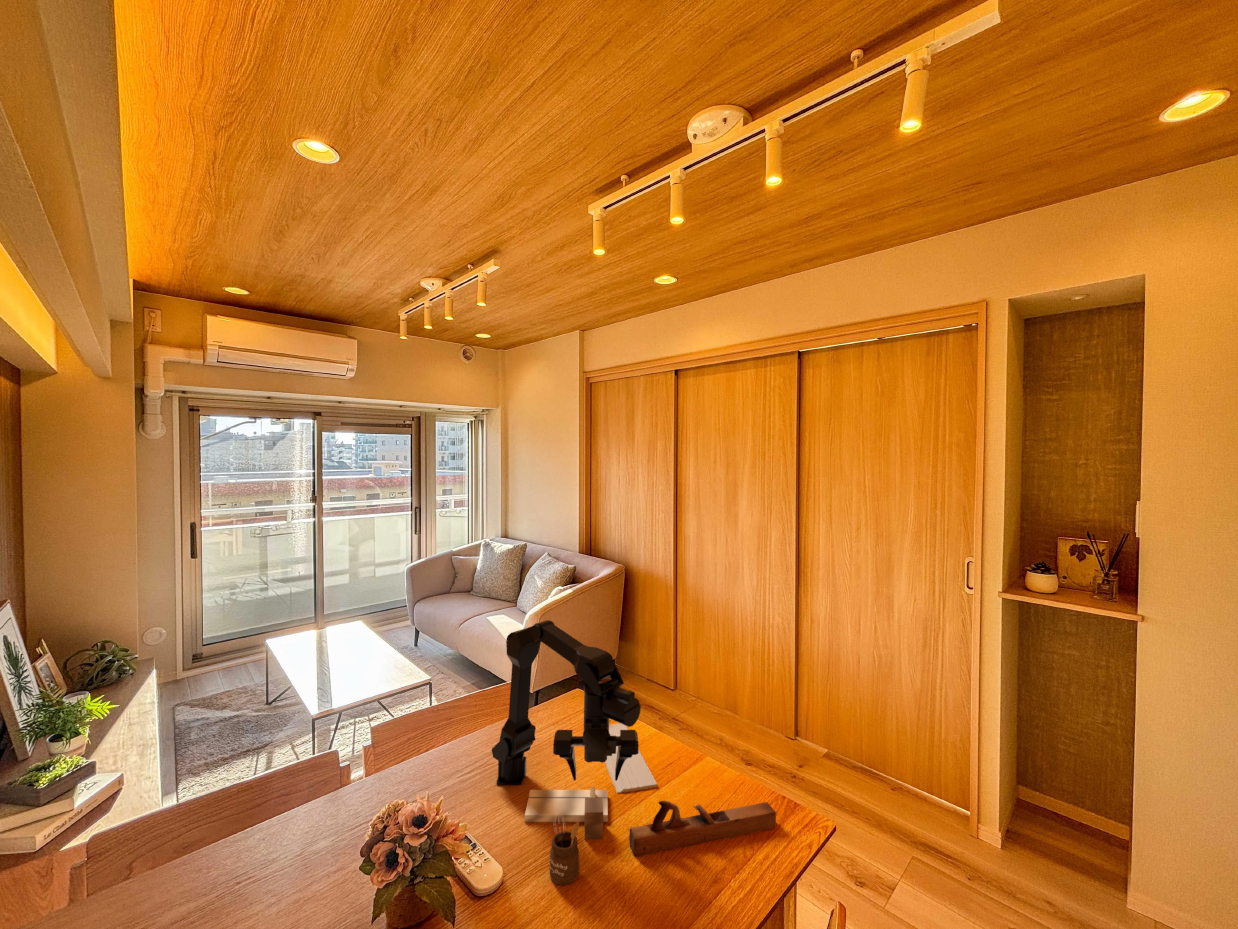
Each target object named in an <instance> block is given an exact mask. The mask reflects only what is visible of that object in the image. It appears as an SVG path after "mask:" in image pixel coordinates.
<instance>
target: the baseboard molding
mask: <svg viewBox="0 0 1238 929" xmlns="http://www.w3.org/2000/svg"><path fill="white" fill-rule="evenodd" d="M611 720H612V719H609V723H612V721H611ZM620 730H629V729H628V726H625V725H623V724H621V723H614V724H609V734H610V736H620ZM617 751H618V746H616V754H612V756H607V760H606V761H605V762H604V765H605V764H606V765H605V767H606V769H607V772H608V774H609V776H610V779H611V782H612V784H613V786H615V787H614V789H615V792H616V794H617V793H618V794H622V792H624V793H629V791H630V792H634V791H635V790H637V791H642V789H643V790H648V788H649V789H655V787H656V788H658V783H657V781H656V779H655V777H654V776H653V773H652V772H651V770H650V768H649V767H648V764H647V762H646V761H645V759H644V757H643V755H642V754H641V751H640V748H638V754H637V755H632V757H631V758H627V759H626V760H625V762H624V763H623V766H622V768H621V771H620V774H619V776H618V779H617V781H615V768H616V759H617ZM653 787H654V788H653ZM635 792H636V791H635Z"/></svg>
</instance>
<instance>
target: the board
mask: <svg viewBox="0 0 1238 929" xmlns="http://www.w3.org/2000/svg"><path fill="white" fill-rule="evenodd" d="M595 797H602V799H603V823H608V815H609V814H608V805H609V804H608V789H595ZM585 798H590V789H530V790H529V794H528V799H527V803H526V808H525V813H524V822H525V823H553V821H554V823H555V821H556V823H563V821H564V820H565V821H564V823H578V821H579V823H584V820H585ZM558 814H559V816H556V815H558ZM560 814H561V815H560ZM562 816H563V817H564V818H563V817H562ZM556 817H557V818H556ZM558 817H559V820H560V822H559V821H558ZM561 818H562V819H561ZM555 819H556V820H555Z"/></svg>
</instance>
